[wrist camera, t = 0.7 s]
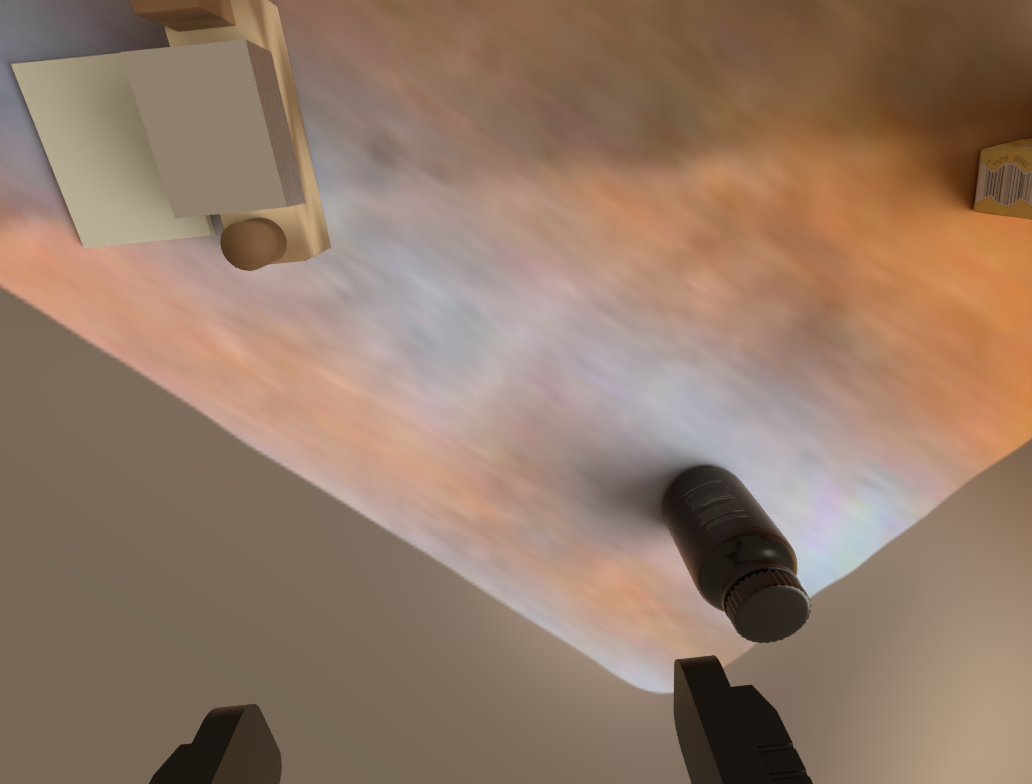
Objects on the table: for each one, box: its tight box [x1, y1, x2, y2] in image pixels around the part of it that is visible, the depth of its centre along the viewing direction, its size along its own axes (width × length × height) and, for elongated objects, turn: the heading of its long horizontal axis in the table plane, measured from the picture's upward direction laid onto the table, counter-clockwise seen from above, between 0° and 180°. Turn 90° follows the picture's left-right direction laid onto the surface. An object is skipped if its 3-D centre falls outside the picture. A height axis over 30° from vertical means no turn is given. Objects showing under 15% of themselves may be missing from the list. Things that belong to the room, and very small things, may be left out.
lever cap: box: [121, 39, 306, 218], centre depth 26 cm, size 7×6×3 cm
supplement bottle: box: [662, 467, 811, 643], centre depth 38 cm, size 7×7×12 cm
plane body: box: [130, 0, 331, 271], centre depth 29 cm, size 13×4×8 cm, turn 5°
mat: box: [11, 53, 216, 248], centre depth 32 cm, size 10×8×1 cm
